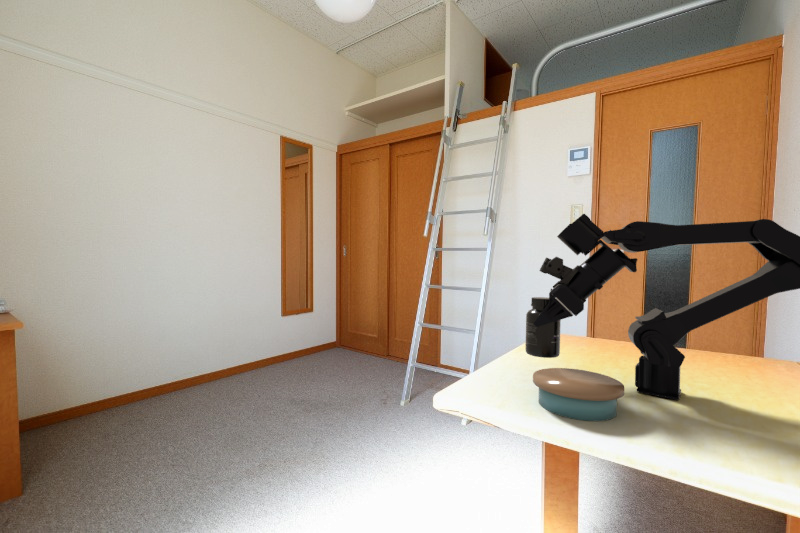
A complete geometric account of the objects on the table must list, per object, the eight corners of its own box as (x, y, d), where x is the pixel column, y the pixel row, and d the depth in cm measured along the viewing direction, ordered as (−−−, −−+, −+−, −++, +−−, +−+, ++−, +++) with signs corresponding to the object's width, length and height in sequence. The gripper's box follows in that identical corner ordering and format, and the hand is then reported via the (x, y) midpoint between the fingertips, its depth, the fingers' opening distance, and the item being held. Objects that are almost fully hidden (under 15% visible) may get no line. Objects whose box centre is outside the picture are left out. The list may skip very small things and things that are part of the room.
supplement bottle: (563, 359, 75) (564, 300, 75) (527, 357, 77) (528, 299, 77) (556, 351, 82) (557, 296, 82) (523, 349, 84) (524, 296, 83)
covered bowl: (630, 404, 65) (631, 378, 65) (614, 432, 54) (614, 401, 54) (548, 386, 74) (548, 363, 74) (519, 407, 63) (520, 380, 63)
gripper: (564, 245, 86) (513, 291, 91) (565, 241, 69) (502, 298, 74) (602, 281, 83) (548, 326, 88) (613, 285, 66) (544, 342, 71)
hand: (535, 322), depth 80 cm, fingers closed on supplement bottle, 7 cm apart
